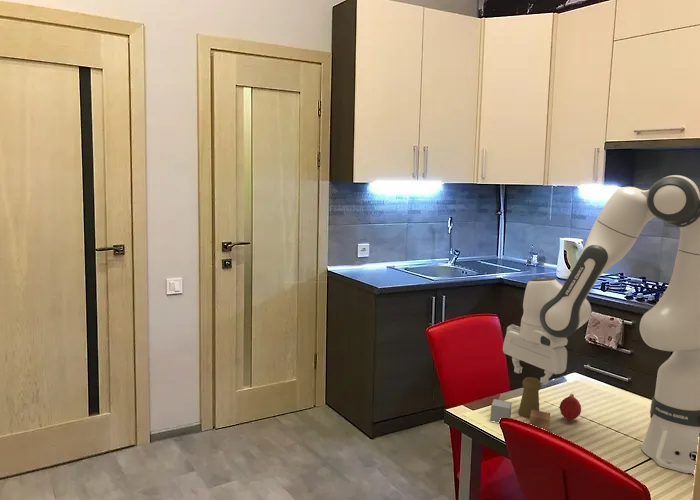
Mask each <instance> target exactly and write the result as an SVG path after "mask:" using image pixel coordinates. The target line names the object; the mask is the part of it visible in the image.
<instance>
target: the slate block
mask: <svg viewBox="0 0 700 500" xmlns="http://www.w3.org/2000/svg"><path fill="white" fill-rule="evenodd" d="M512 404H513V403H512V401H507V400H503V399H496V398H493V400H492V403H491V407H490V416H489V417H490V418H489V419H490V420H489V422H490V421H495V422H499V420H500V418H510V419H511V414H512V413H511V412H512Z"/></svg>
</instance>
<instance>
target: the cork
mask: <svg viewBox="0 0 700 500" xmlns="http://www.w3.org/2000/svg"><path fill="white" fill-rule="evenodd" d="M540 381H541V380H539V378H537V377H531V376H528V377H524V379H523V380H522V385H521V386H522V388H523V391H522V396H521V400H520V403H519V408H518V411H517V414H518V415H519V416H520V417H522V418H524V419H528V420H530V415H531V410H536V411H540V396H539V395H540V394H539V391H540V390H541V388H542V384H541V383H540Z"/></svg>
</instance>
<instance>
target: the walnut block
mask: <svg viewBox="0 0 700 500" xmlns="http://www.w3.org/2000/svg"><path fill="white" fill-rule="evenodd" d="M550 422H551V412H545V411H540V410H539V411H536V410H531V415H530V419H529V424H532V425H534V426H537V427H539V428H543V429H545V430H547V431H549V430H550V424H551V423H550Z"/></svg>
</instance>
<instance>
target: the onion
mask: <svg viewBox="0 0 700 500" xmlns="http://www.w3.org/2000/svg"><path fill="white" fill-rule="evenodd" d="M559 411H560V415H561V416H562V417H563V418H564V419H566V421H568V422H571V421H573V420H575V419H577V418H578V417H579V416H580V415H581V413H582V406H581V403H580V401H579V400H578V399H577V398H576V397H575V396H574V394H573V393H570V394H569V396H568V397H567V396H566V397H565V398H563V399H562V400H561V402H560V404H559Z"/></svg>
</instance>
